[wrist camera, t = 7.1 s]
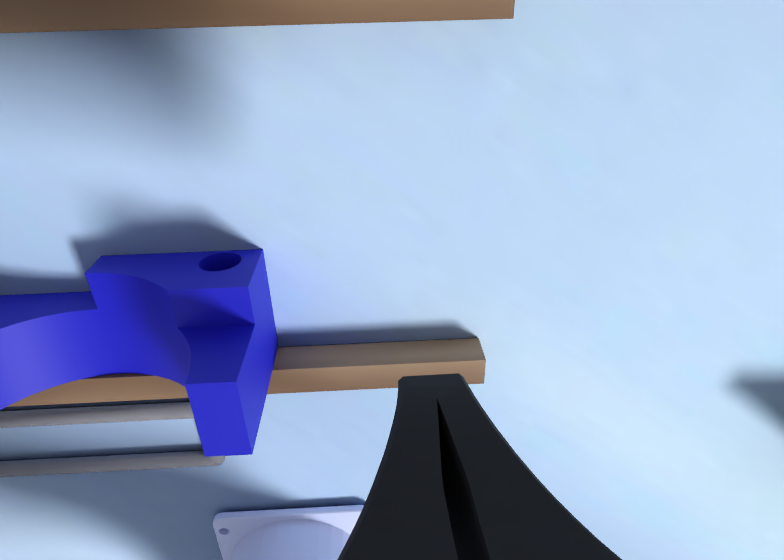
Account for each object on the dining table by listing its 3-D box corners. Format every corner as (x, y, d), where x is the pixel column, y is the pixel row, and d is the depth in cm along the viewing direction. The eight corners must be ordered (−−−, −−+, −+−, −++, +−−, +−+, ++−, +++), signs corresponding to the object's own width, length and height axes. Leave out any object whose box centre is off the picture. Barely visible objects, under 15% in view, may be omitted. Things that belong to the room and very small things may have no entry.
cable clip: (263, 247, 20) (227, 340, 15) (278, 343, 22) (252, 454, 17) (-60, 260, 20) (-216, 360, 14) (-12, 357, 22) (-132, 474, 16)
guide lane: (476, 360, 23) (494, 418, 20) (-113, 388, 22) (-190, 453, 19) (504, -29, 16) (538, -34, 13) (-367, -7, 15) (-556, -6, 12)
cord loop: (227, 456, 25) (224, 468, 24) (-46, 471, 24) (-57, 483, 24) (212, 397, 23) (208, 408, 22) (-83, 411, 23) (-95, 423, 22)
